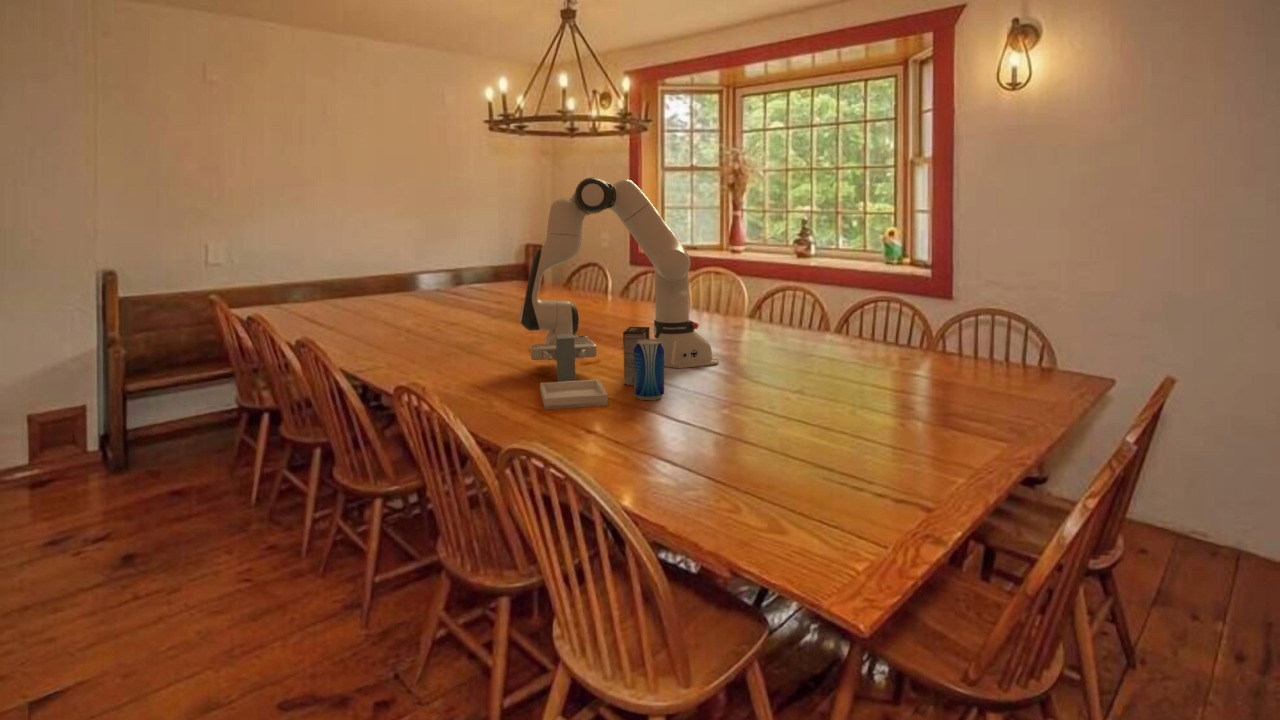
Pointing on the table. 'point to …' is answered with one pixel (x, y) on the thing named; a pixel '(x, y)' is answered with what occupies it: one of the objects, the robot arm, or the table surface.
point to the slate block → (565, 358)
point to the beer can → (648, 369)
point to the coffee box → (632, 350)
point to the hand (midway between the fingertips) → (565, 356)
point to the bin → (573, 394)
